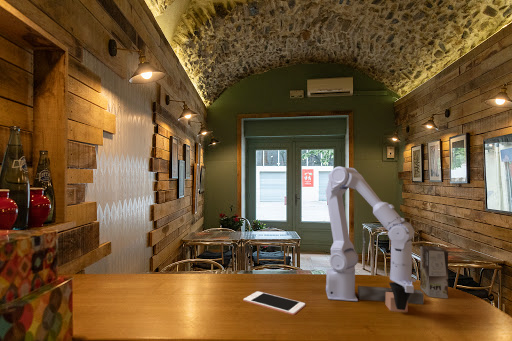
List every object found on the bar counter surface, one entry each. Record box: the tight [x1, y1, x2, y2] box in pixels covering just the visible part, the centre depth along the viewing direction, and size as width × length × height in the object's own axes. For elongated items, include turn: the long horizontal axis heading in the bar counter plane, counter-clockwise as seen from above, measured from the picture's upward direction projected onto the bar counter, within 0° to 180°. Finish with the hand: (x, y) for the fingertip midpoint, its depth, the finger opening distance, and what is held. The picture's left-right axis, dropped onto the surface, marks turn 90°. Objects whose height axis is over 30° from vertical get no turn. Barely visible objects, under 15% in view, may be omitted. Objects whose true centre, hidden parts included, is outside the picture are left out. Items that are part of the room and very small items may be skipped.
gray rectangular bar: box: [357, 285, 424, 305], centre depth 101 cm, size 20×3×4 cm, turn 83°
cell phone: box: [243, 290, 306, 316], centre depth 96 cm, size 9×18×1 cm, turn 58°
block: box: [384, 292, 409, 313], centre depth 94 cm, size 5×5×4 cm
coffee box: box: [419, 245, 449, 299], centre depth 109 cm, size 9×6×16 cm
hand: (400, 308), depth 90 cm, fingers closed
